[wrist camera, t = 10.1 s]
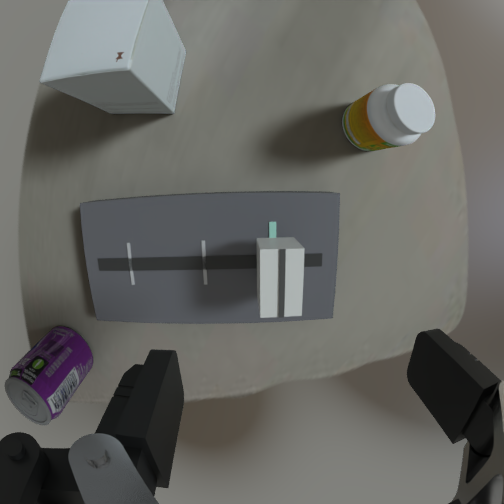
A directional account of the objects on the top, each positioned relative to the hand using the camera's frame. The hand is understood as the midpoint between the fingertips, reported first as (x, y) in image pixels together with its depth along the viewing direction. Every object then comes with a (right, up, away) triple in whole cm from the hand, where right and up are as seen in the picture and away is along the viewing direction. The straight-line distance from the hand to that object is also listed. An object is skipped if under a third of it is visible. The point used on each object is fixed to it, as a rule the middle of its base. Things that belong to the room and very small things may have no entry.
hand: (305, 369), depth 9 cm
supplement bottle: (+10, +17, +18) cm, 26 cm away
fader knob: (0, +3, +17) cm, 17 cm away
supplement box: (-12, +21, +16) cm, 29 cm away
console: (-6, +3, +20) cm, 21 cm away
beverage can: (-25, -9, +22) cm, 34 cm away
